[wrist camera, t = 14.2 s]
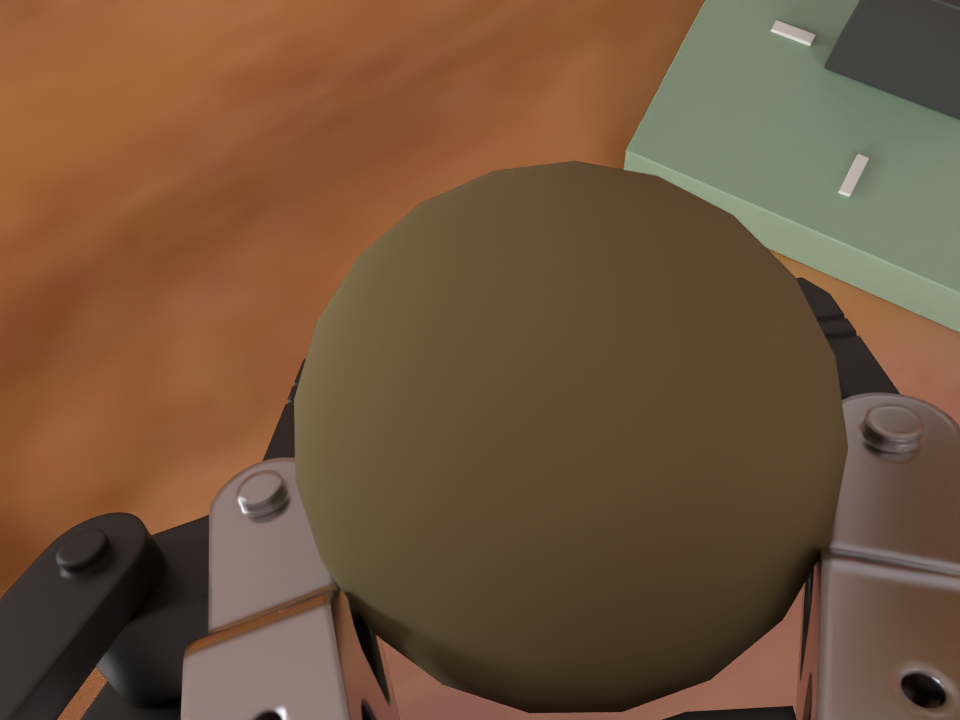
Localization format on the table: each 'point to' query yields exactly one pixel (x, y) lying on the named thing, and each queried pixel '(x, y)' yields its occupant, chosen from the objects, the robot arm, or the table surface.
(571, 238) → the olive round-headed cylinder
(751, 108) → the control panel
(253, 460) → the table surface
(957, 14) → the black block red tip
